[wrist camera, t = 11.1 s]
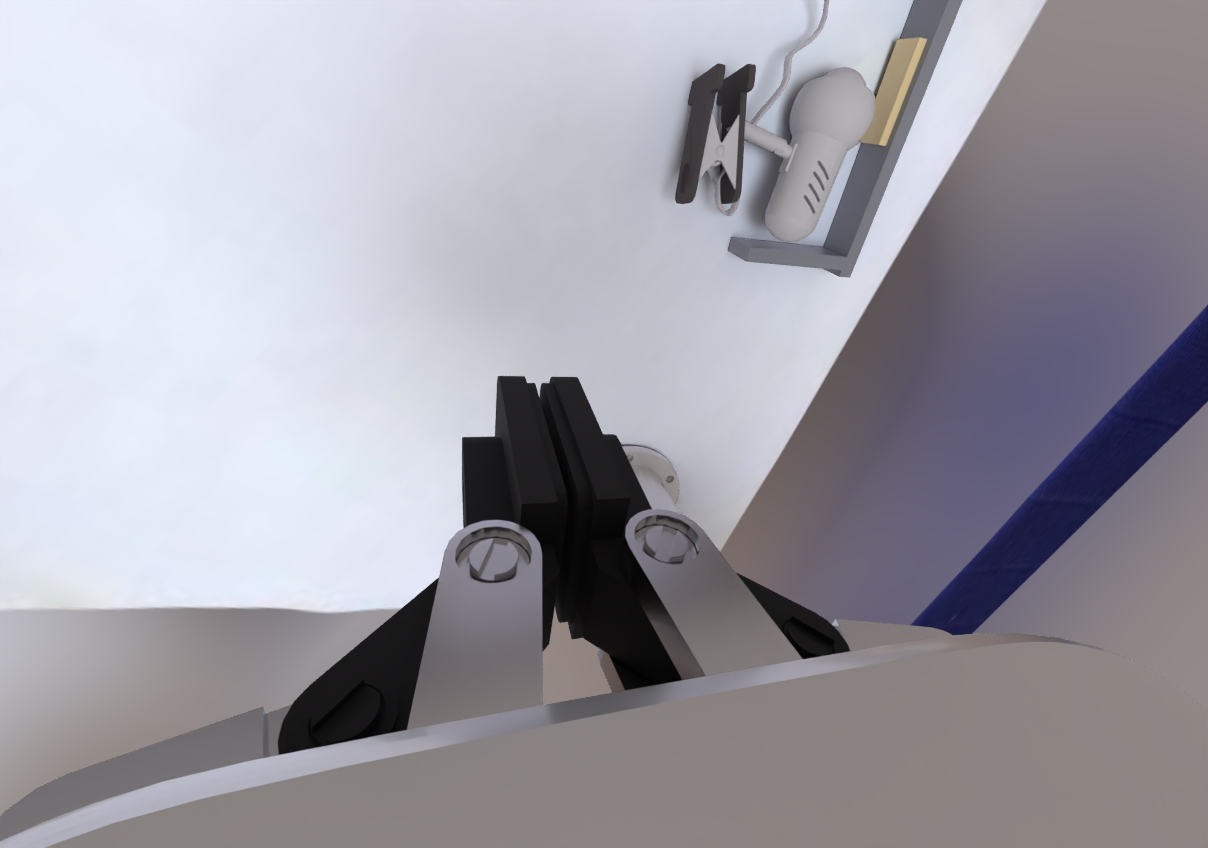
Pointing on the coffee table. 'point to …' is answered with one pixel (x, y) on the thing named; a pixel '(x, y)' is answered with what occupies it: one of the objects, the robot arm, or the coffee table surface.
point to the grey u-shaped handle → (872, 147)
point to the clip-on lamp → (776, 140)
